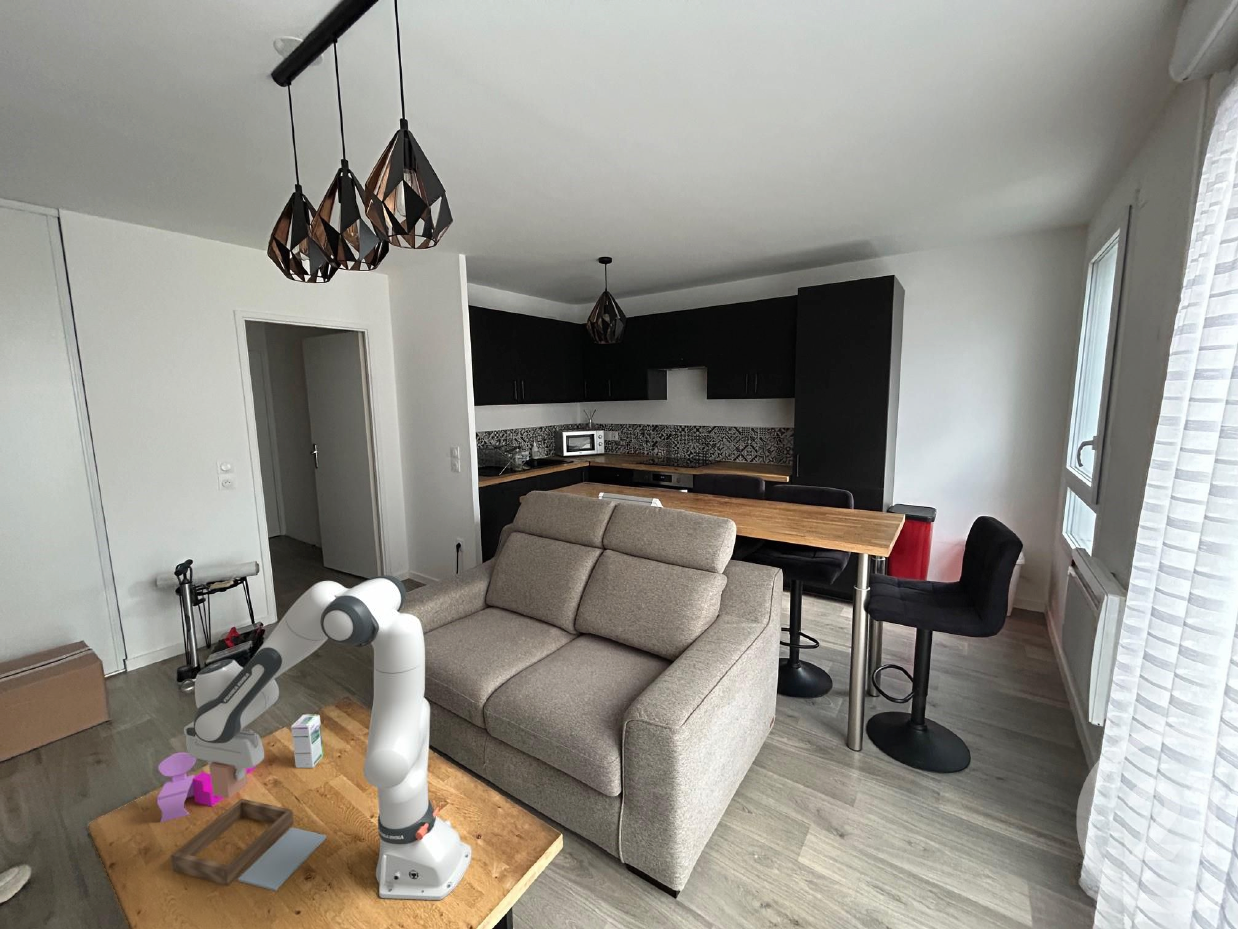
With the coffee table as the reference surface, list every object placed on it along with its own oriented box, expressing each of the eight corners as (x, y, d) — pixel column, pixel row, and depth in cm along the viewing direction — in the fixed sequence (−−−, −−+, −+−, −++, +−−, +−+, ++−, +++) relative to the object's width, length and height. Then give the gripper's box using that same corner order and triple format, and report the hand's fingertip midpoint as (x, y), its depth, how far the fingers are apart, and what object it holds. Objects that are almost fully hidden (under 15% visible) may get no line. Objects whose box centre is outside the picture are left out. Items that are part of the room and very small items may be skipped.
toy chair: (154, 825, 137) (147, 775, 135) (167, 802, 145) (161, 754, 143) (193, 815, 140) (186, 765, 138) (203, 792, 148) (197, 745, 146)
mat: (326, 838, 133) (326, 835, 133) (275, 892, 118) (275, 889, 118) (291, 830, 135) (291, 827, 135) (238, 881, 121) (237, 878, 121)
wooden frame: (293, 824, 137) (292, 809, 136) (228, 886, 120) (226, 869, 119) (243, 813, 141) (241, 798, 140) (173, 871, 123) (171, 855, 123)
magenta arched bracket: (211, 807, 143) (209, 783, 142) (195, 802, 145) (192, 778, 144) (261, 770, 157) (259, 747, 156) (246, 766, 159) (243, 744, 158)
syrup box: (313, 768, 158) (309, 725, 156) (294, 768, 158) (290, 725, 156) (324, 755, 164) (320, 714, 162) (306, 755, 164) (302, 713, 162)
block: (248, 783, 130) (244, 755, 129) (229, 798, 125) (225, 768, 124) (232, 780, 131) (229, 752, 130) (213, 795, 126) (209, 765, 125)
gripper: (268, 723, 126) (273, 773, 128) (204, 712, 131) (210, 761, 133) (244, 739, 120) (250, 792, 122) (178, 727, 125) (185, 778, 127)
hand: (229, 776), depth 128 cm, fingers closed on block, 5 cm apart
